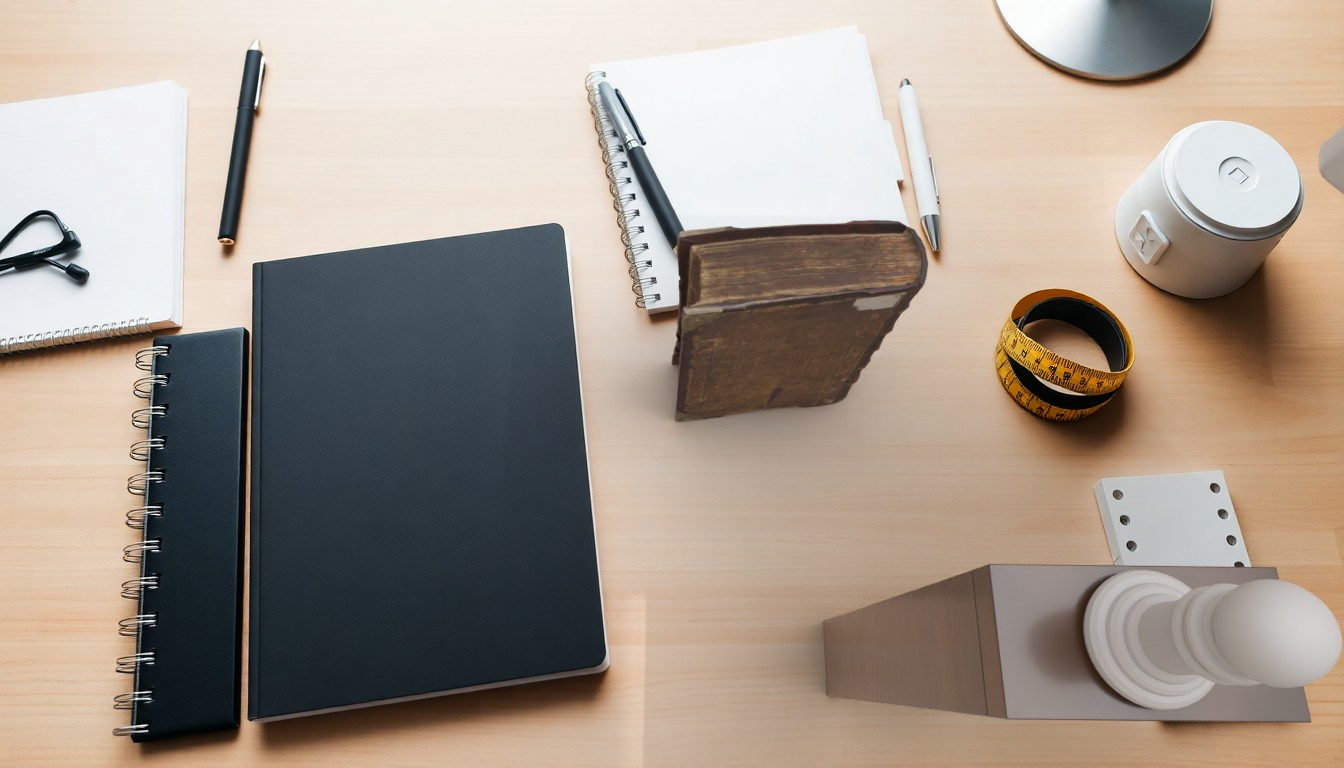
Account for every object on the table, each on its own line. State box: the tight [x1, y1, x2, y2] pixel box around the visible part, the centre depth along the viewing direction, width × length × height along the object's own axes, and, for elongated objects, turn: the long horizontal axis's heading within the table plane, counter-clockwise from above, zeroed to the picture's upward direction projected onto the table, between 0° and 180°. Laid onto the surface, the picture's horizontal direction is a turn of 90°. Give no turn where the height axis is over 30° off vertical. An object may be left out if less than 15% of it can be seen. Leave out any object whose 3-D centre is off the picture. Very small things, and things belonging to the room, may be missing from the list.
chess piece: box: [1083, 570, 1343, 710], centre depth 29 cm, size 5×5×9 cm
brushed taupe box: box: [822, 563, 1312, 724], centre depth 51 cm, size 12×6×38 cm, turn 89°
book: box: [671, 219, 929, 422], centre depth 65 cm, size 17×7×25 cm, turn 90°
